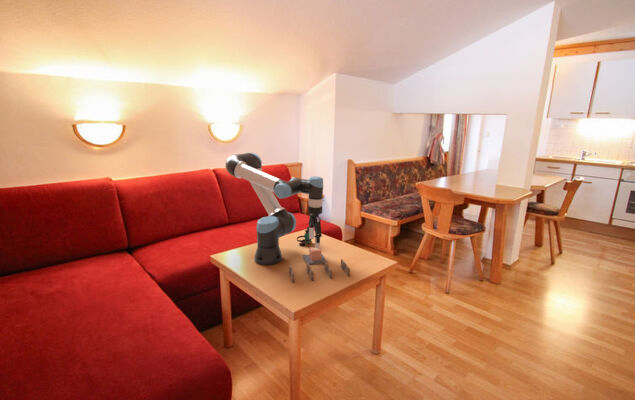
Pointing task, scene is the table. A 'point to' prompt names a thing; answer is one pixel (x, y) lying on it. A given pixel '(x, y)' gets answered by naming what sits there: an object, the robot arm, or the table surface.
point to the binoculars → (306, 240)
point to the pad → (308, 260)
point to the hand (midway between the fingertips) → (314, 243)
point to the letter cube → (314, 253)
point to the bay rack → (326, 267)
